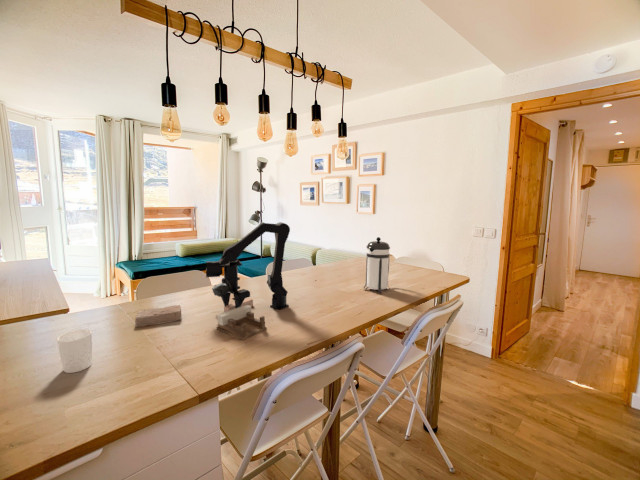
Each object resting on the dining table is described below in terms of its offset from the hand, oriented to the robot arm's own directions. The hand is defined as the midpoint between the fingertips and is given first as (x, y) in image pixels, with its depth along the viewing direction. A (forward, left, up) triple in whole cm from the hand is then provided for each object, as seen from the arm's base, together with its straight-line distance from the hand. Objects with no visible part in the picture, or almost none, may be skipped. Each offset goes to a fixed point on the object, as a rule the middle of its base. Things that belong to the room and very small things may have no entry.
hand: (231, 309), depth 135 cm
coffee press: (-73, +36, -1) cm, 81 cm away
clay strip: (-4, 0, -1) cm, 4 cm away
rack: (+9, +18, -1) cm, 20 cm away
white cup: (+56, 0, -1) cm, 56 cm away
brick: (+24, -16, -2) cm, 29 cm away
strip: (+9, +14, +2) cm, 17 cm away
